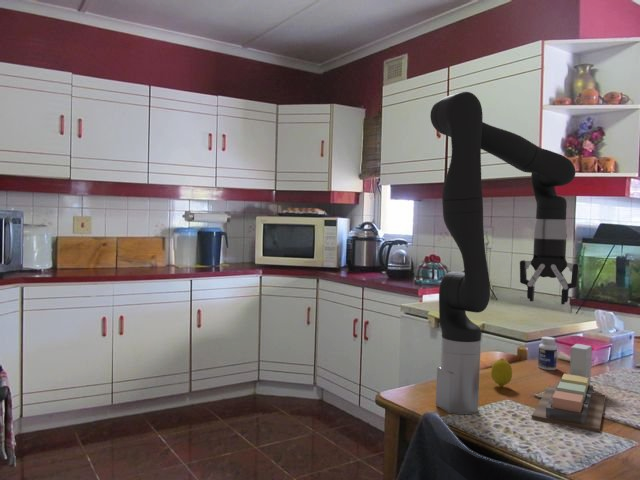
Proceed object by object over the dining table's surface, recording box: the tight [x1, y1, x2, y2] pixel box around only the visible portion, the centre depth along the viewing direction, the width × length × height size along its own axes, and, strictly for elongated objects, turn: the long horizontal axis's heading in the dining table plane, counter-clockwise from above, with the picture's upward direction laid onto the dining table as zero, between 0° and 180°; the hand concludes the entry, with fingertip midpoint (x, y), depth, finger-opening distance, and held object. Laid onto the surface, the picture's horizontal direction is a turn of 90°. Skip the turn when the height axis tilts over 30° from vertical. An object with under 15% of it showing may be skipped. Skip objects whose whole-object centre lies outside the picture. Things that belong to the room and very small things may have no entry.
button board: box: [531, 379, 606, 433], centre depth 132 cm, size 28×14×3 cm, turn 149°
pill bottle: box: [537, 336, 558, 371], centre depth 169 cm, size 5×5×10 cm
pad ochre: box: [560, 373, 589, 392], centre depth 140 cm, size 6×6×3 cm
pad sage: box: [556, 382, 586, 402], centre depth 132 cm, size 6×6×3 cm
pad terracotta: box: [552, 391, 583, 413], centre depth 124 cm, size 6×6×3 cm
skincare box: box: [569, 343, 593, 385], centre depth 148 cm, size 6×4×12 cm
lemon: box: [490, 357, 513, 388], centre depth 148 cm, size 6×6×8 cm
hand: (547, 302), depth 135 cm, fingers open, 7 cm apart
